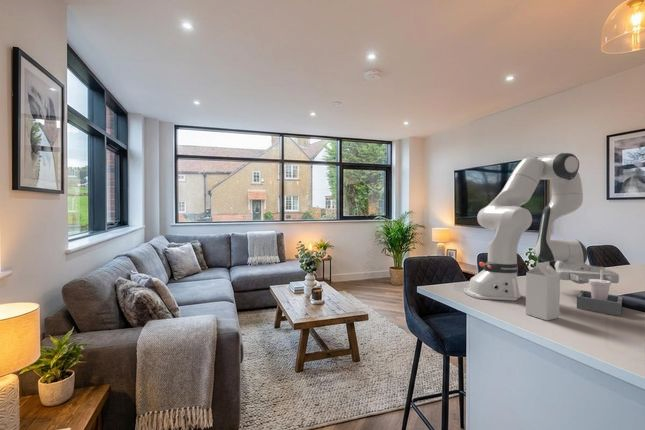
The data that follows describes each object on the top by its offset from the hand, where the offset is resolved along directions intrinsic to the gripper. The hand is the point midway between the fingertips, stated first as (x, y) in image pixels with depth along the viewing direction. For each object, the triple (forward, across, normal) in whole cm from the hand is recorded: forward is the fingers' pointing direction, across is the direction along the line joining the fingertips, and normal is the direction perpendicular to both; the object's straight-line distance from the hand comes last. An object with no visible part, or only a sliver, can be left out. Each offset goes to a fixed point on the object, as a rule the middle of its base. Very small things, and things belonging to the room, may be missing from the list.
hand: (594, 279), depth 119 cm
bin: (+4, 0, +10) cm, 11 cm away
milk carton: (+21, -24, +10) cm, 33 cm away
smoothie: (+4, 0, +9) cm, 10 cm away
